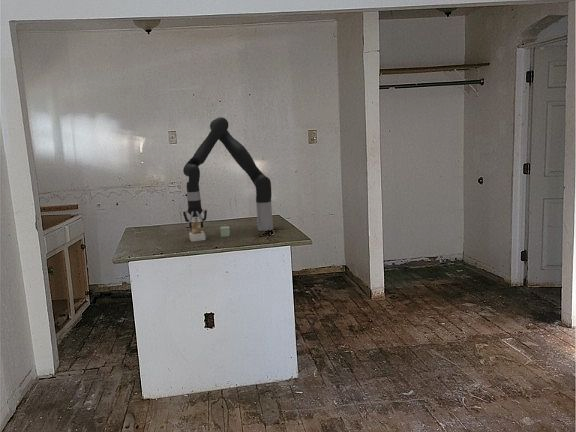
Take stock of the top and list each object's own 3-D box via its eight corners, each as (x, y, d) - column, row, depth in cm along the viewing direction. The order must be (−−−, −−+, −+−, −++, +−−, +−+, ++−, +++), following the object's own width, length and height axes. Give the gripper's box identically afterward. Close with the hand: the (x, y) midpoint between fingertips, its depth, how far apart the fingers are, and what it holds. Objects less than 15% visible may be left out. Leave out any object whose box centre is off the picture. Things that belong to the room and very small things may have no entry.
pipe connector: (202, 234, 312) (200, 218, 311) (186, 234, 314) (185, 218, 313) (207, 230, 322) (206, 215, 320) (192, 230, 324) (191, 215, 322)
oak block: (201, 229, 300) (200, 221, 300) (200, 231, 296) (200, 223, 295) (192, 230, 300) (192, 222, 299) (192, 232, 295) (191, 223, 294)
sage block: (229, 234, 307) (229, 226, 306) (229, 236, 302) (229, 228, 302) (221, 235, 307) (220, 226, 306) (221, 236, 302) (220, 228, 301)
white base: (203, 237, 304) (202, 230, 303) (205, 240, 296) (204, 233, 295) (189, 239, 301) (189, 232, 301) (191, 242, 294) (190, 234, 293)
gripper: (207, 197, 299) (209, 226, 302) (182, 199, 298) (184, 227, 301) (206, 199, 291) (208, 228, 294) (180, 201, 290) (183, 230, 293)
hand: (196, 228), depth 298 cm, fingers open, 5 cm apart
